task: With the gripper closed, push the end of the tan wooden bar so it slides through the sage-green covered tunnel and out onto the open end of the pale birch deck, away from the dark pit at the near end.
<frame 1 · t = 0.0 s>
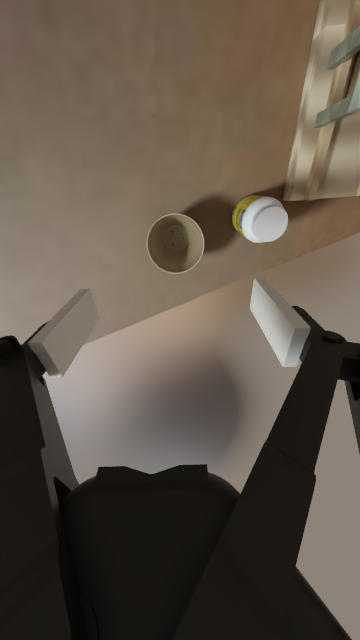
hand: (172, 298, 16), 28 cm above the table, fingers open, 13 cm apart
pill bottle: (247, 215, 38), on the table
deck: (347, 106, 29), on the table
flower pot: (176, 237, 40), on the table
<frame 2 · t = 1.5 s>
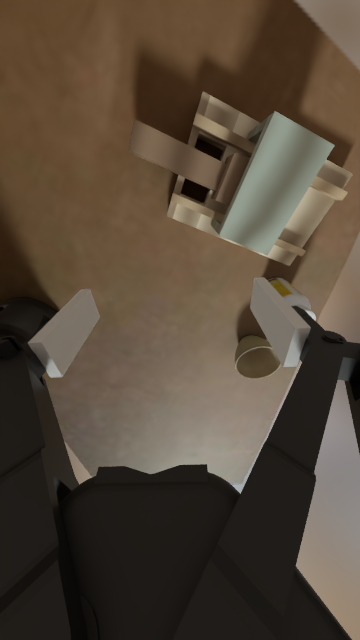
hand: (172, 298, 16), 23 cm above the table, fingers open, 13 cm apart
pill bottle: (272, 290, 41), on the table
tan wooden bar: (236, 187, 29), point 3 cm above the table, touching deck
deck: (249, 195, 32), on the table
flower pot: (249, 342, 49), on the table
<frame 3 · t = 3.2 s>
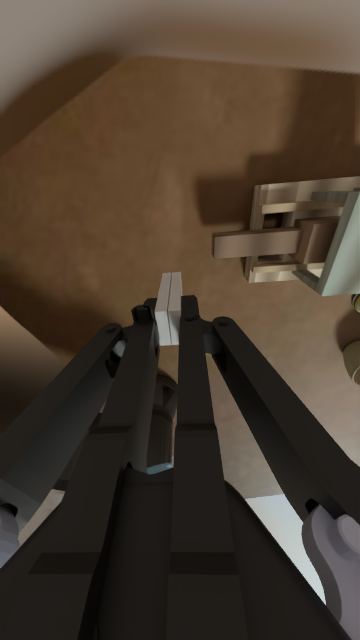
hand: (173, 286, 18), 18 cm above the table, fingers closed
tan wooden bar: (311, 235, 30), point 3 cm above the table, touching deck
deck: (319, 230, 32), on the table
flower pot: (353, 347, 47), on the table
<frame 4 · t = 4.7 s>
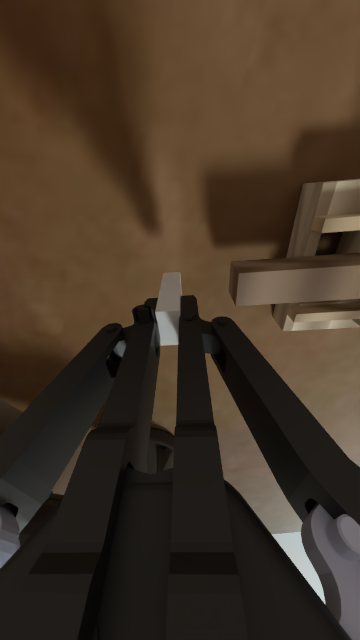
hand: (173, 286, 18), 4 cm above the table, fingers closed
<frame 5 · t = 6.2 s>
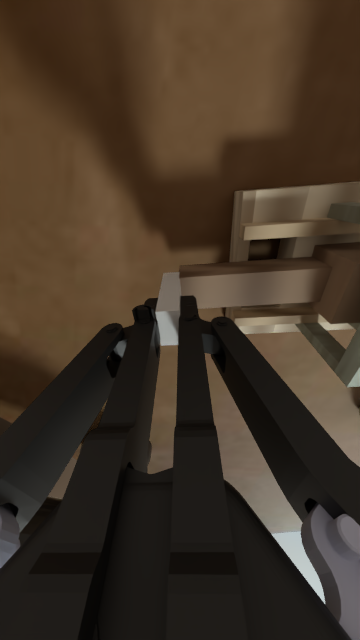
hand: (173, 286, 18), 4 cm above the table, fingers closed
tan wooden bar: (339, 270, 18), point 3 cm above the table, touching gripper
deck: (337, 260, 21), on the table
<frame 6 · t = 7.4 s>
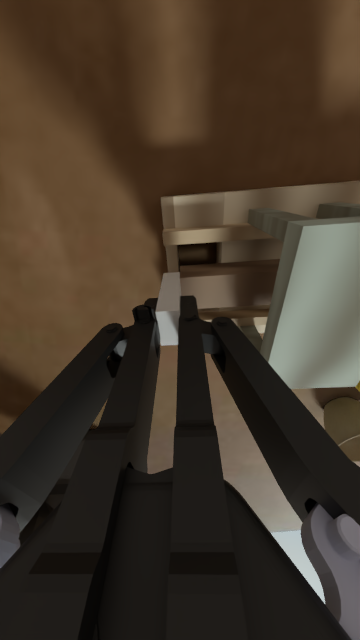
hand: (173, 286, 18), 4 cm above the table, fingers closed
tan wooden bar: (339, 270, 18), point 3 cm above the table, touching gripper
deck: (276, 264, 21), on the table
flower pot: (337, 404, 36), on the table
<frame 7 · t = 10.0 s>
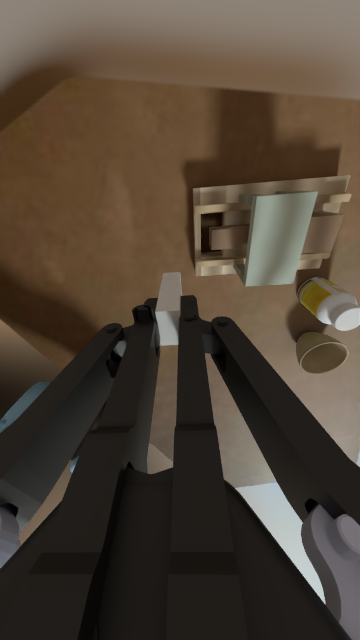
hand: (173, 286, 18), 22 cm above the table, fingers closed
pill bottle: (311, 289, 42), on the table
tan wooden bar: (299, 229, 33), point 3 cm above the table, touching deck
deck: (257, 229, 36), on the table
flower pot: (306, 338, 50), on the table
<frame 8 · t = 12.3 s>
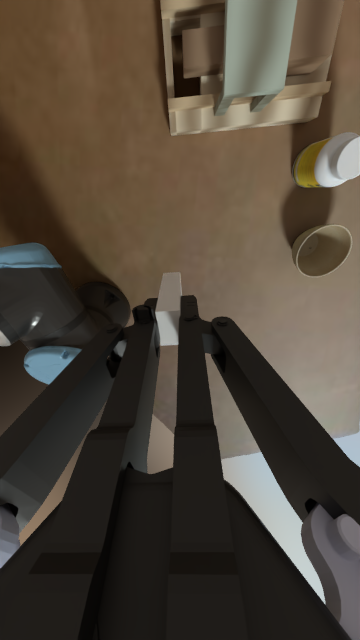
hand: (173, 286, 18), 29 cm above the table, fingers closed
pill bottle: (308, 166, 36), on the table
tan wooden bar: (292, 48, 27), point 3 cm above the table, touching deck
deck: (242, 65, 30), on the table
flower pot: (304, 243, 44), on the table
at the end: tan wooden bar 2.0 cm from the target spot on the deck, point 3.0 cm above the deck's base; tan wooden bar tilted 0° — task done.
